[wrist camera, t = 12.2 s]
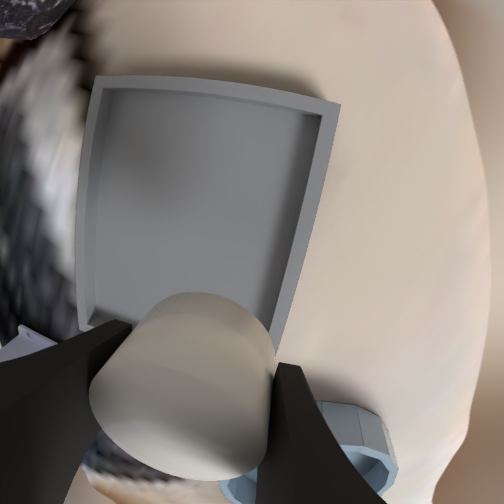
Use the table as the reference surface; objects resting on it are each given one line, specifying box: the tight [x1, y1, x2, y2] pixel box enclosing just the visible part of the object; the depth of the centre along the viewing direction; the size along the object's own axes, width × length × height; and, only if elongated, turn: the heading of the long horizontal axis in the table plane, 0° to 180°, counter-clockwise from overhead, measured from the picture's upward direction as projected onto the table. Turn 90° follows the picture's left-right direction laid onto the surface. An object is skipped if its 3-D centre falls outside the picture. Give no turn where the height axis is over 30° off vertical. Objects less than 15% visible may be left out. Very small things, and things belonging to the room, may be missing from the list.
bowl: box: [218, 401, 398, 504], centre depth 19 cm, size 14×14×4 cm
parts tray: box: [75, 75, 341, 356], centre depth 16 cm, size 12×15×2 cm
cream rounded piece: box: [89, 292, 275, 481], centre depth 8 cm, size 4×4×3 cm
